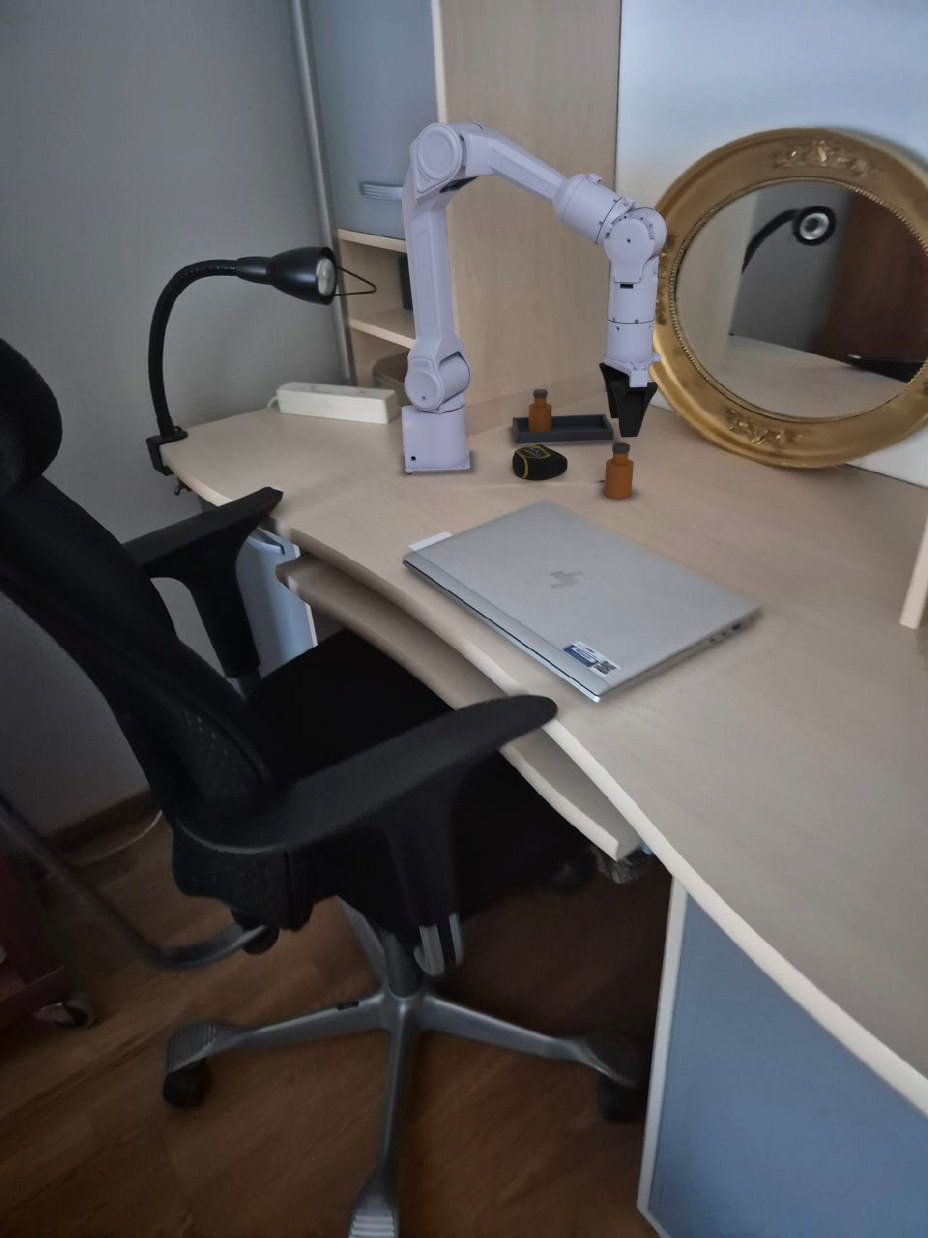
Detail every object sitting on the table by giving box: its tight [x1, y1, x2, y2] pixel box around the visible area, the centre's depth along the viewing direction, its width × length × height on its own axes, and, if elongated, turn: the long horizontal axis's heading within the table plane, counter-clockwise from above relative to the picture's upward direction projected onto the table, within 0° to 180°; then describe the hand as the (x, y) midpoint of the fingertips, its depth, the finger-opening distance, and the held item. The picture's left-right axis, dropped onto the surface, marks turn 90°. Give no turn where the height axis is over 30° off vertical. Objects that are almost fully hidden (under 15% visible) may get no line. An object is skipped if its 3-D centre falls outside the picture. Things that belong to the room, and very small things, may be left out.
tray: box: [512, 413, 614, 445], centre depth 130 cm, size 15×8×2 cm, turn 91°
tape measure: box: [511, 443, 569, 481], centre depth 115 cm, size 7×7×4 cm
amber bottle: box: [604, 441, 635, 500], centre depth 108 cm, size 4×4×7 cm
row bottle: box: [528, 388, 552, 432], centre depth 128 cm, size 4×4×7 cm
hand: (623, 426), depth 106 cm, fingers open, 7 cm apart
